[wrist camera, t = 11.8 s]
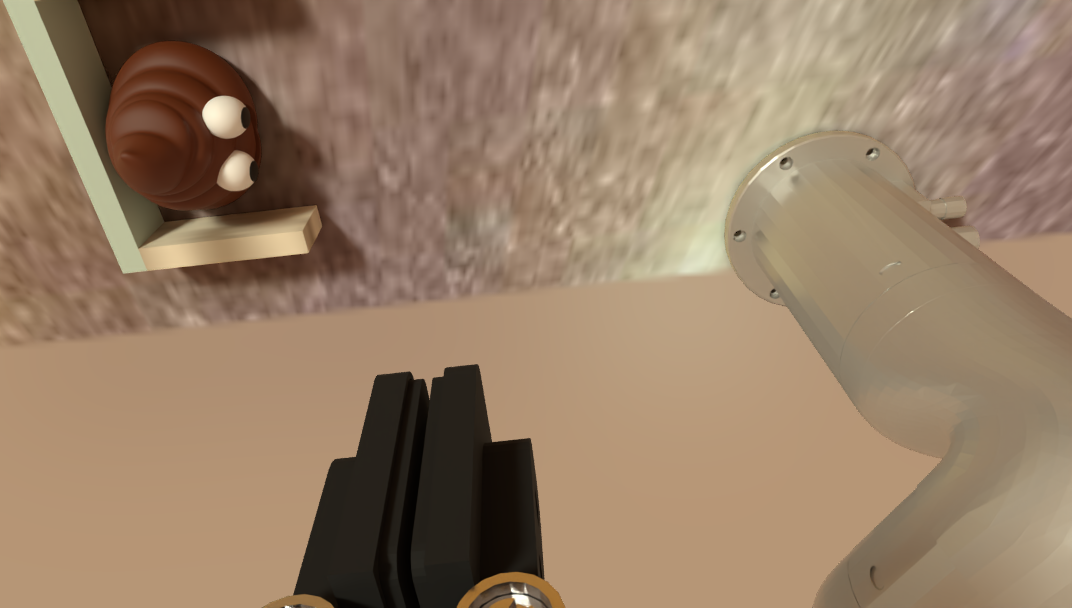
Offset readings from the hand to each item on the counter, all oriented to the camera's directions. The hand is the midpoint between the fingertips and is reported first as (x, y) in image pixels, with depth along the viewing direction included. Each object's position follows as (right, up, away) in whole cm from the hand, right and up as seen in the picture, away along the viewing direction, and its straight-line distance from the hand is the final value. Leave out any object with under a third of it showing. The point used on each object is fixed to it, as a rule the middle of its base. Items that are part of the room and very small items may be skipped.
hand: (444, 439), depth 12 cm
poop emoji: (-19, +13, +32) cm, 40 cm away
